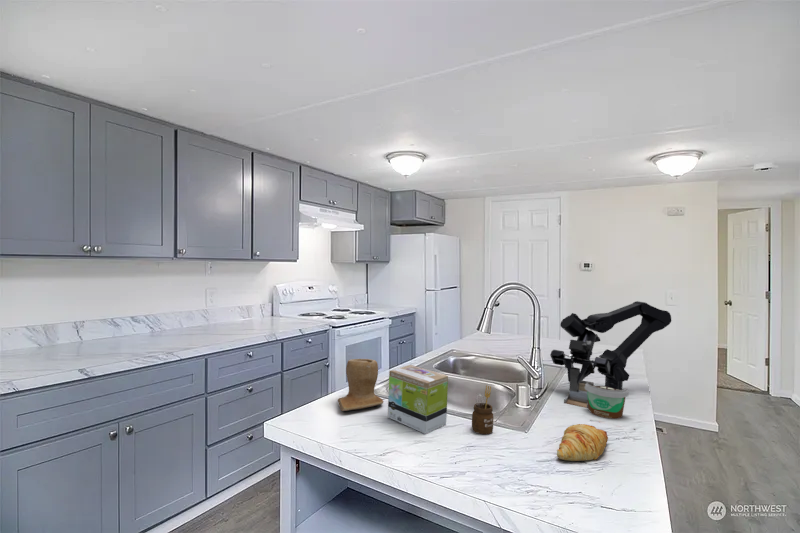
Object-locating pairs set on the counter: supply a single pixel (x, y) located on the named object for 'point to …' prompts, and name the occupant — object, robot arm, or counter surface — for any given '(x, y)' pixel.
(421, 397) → the tea box
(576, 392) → the block
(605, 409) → the food container
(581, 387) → the nut
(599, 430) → the croissant
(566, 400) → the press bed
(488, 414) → the utensil holder
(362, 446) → the counter surface
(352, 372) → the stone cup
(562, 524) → the counter surface
